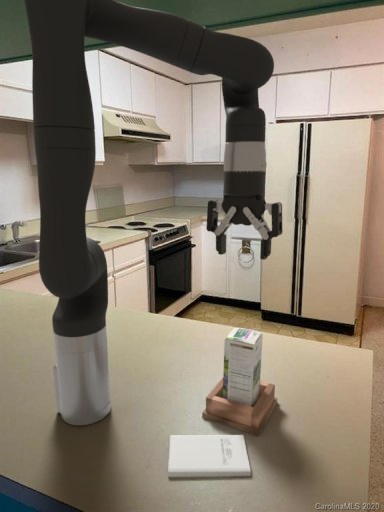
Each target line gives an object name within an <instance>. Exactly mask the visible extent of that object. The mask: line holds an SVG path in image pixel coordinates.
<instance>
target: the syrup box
mask: <svg viewBox="0 0 384 512" xmlns="http://www.w3.org/2000/svg"><path fill="white" fill-rule="evenodd" d="M263 335H264V333H263V332H259V331H256V330H253V329H249V328H243V327H233V329H232V330H231V332H230V333H229V334H228V335H227V336H226V338H225V339H224V346H223V347H224V349H223V351H224V352H223V374H222V375H223V377H222V378H223V398H224V399H227V400H230V401H234V402H237V403H240V404H244V405H247V406H251V407H254V406H255V405H256V403H257V402H258V400H259V391H260V381H261V374H262V373H261V371H262V370H261V369H262V355H263V354H262V350H263Z"/></svg>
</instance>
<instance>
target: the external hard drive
mask: <svg viewBox="0 0 384 512" xmlns="http://www.w3.org/2000/svg"><path fill="white" fill-rule="evenodd" d="M169 436H170V437H169V449H168V450H169V451H168V452H169V454H168V464H167V465H168V466H167V468H168V469H167V477H168V478H187V477H188V478H192V477H193V478H197V477H199V478H201V477H205V478H206V477H248V476H249V477H250V476H251V475H252V473H251V465H250V462H249V457H248V451H247V446H246V442H245V437H244V434H234V435H233V434H217V435H216V434H210V435H209V434H204V435H203V434H200V435H199V434H198V435H197V434H191V435H190V434H187V435H186V434H182V435H179V434H178V435H175V434H174V435H172V434H170V435H169Z"/></svg>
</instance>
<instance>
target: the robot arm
mask: <svg viewBox="0 0 384 512" xmlns="http://www.w3.org/2000/svg"><path fill="white" fill-rule="evenodd" d="M24 6H25V11H26V17H27V23H28V29H29V35H30V45H31V55H32V57H31V59H32V73H31V76H32V77H31V78H32V79H31V80H32V81H31V83H32V84H31V85H32V86H31V87H32V88H31V89H32V90H31V91H32V92H31V93H32V121H33V122H32V125H33V136H34V137H33V140H34V151H35V152H34V153H35V159H36V160H35V161H36V168H37V169H36V170H37V171H36V172H37V174H36V175H37V189H38V199H39V215H40V218H39V221H40V222H39V227H40V228H39V249H38V270H39V275H40V279H41V282H42V284H43V285H44V287H45V289H47V291H48V292H49V293H50V294H52V296H54V297H57V298H58V300H57V304H56V307H55V309H54V312H53V314H52V317H51V318H52V319H51V321H52V323H51V324H52V332H53V342H54V351H55V352H54V353H55V363H56V364H54V365H53V367H52V371H53V381H54V390H55V391H54V392H55V401H56V412H57V413H59V414H60V415H61V419H62V420H63V421H64V422H65V423H67V424H69V425H72V426H88V425H92V424H95V423H97V422H100V421H102V420H103V419H104V418H105V417H107V415H109V413H110V412H111V408H112V404H111V403H112V402H111V401H112V399H111V384H110V369H109V368H110V366H109V365H110V364H109V349H108V336H107V335H108V334H107V320H106V319H107V317H106V316H107V311H108V305H109V280H108V279H109V276H108V263H107V258H106V253H105V252H104V250H103V248H102V247H101V245H100V243H98V242H97V241H95V240H94V239H92V238H90V237H87V229H86V211H87V203H88V201H89V195H90V191H91V187H92V183H93V179H94V174H95V169H96V168H95V167H96V158H97V157H96V154H97V151H96V149H97V147H96V131H95V130H96V128H95V127H96V126H95V115H94V108H93V107H94V106H93V100H92V94H91V93H92V92H91V89H90V83H89V77H88V71H87V65H86V56H85V55H86V54H85V52H86V51H85V38H88V39H89V38H90V39H93V40H98V41H101V42H106V43H109V44H113V45H117V46H120V47H123V48H126V49H128V50H132V51H135V52H138V53H141V54H143V55H146V56H148V57H150V58H153V59H156V60H159V61H161V62H164V63H166V64H169V65H171V66H173V67H176V68H178V69H181V70H183V71H186V72H189V73H191V74H194V75H197V76H207V75H213V76H215V77H216V76H217V77H220V78H221V92H222V100H223V106H224V111H225V116H226V117H225V139H224V140H225V144H224V151H223V153H224V154H223V199H222V201H220V200H218V199H213V200H212V199H211V200H209V201H208V202H207V211H206V212H207V214H206V228H205V229H206V231H207V232H211V233H212V234H214V235H215V250H216V252H217V254H218V255H225V254H226V252H227V234H226V232H227V231H228V229H229V228H230V227H231V226H232V225H235V226H238V225H239V226H240V225H243V226H249V227H251V226H253V228H254V229H255V230H256V231H257V232H258V233H259V235H260V236H261V238H262V239H261V240H260V255H259V256H260V257H259V258H260V260H267V259H268V257H270V256H271V253H272V241H273V238H277V237H279V236H281V235H282V234H283V204H282V202H280V201H278V202H277V201H276V202H274V203H273V202H270V203H269V202H268V203H267V201H266V199H265V195H266V173H267V172H266V171H267V170H266V169H267V152H266V130H267V128H266V123H267V119H266V114H265V111H264V110H263V109H262V108H261V107H260V103H259V89H260V88H262V87H264V86H265V85H266V84H267V83H269V81H270V79H271V78H272V76H273V73H274V69H275V61H274V57H273V55H272V54H271V52H270V51H269V49H268V48H267V47H266V46H265V45H263V44H262V43H261V42H259V41H256V40H255V39H252V38H249V37H244V36H242V35H241V36H240V35H235V34H231V33H228V32H220V31H214V30H212V29H210V28H208V27H206V26H204V25H202V24H199V23H197V22H194V21H193V20H191V19H188V18H186V17H183V16H180V15H177V14H174V13H171V12H167V11H163V10H158V9H157V10H156V9H151V8H144V7H139V6H138V7H137V6H133V5H129V4H127V3H126V4H125V3H122V2H120V1H117V0H24ZM221 209H222V210H223V212H224V213H225V215H224V216H223V218H222V219H221V220H220V222H219V212H220V211H221ZM266 211H268V215H270V216H271V228H270V227H269V226H268V223H267V221H266V219H265V218H264V217H263V214H264V213H265V212H266ZM218 224H219V225H218Z"/></svg>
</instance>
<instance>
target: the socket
mask: <svg viewBox="0 0 384 512" xmlns="http://www.w3.org/2000/svg"><path fill="white" fill-rule="evenodd" d="M275 389H276V384H273V383H269V382H266V381H263V380H262V381H261V380H260V391H259V400H258V402H257V403H256V405H255V406H254V407H251V406H247V405H244V404H240V403H237V402H234V401H230V400H227V399H224V398H223V377H222V378H221V379H220V381H218V382H217V384H216V385H214V388H212V389H211V391H210V392H209V393H208V394H207V395H206V397H205V408H204V410H203V411H202V412H201V417H202V418H203V419H206V420H209V421H212V422H215V423H218V424H222V425H224V426H228V427H230V428H233V429H237V430H240V431H243V432H246V433H248V434H251V435H255V436H257V437H260V436H261V434H262V432H263V430H264V428H265V426H266V425H267V422H268V421H269V419H270V417H271V415H272V413H273V411H274V409H275V407H276V405H277V404H278V397H276V396H275Z"/></svg>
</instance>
